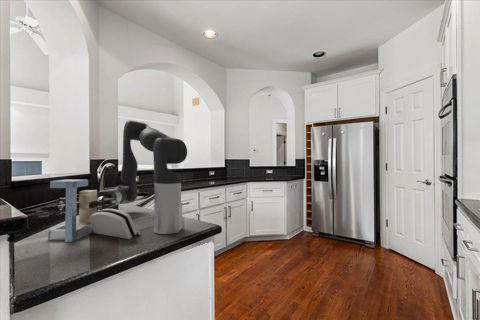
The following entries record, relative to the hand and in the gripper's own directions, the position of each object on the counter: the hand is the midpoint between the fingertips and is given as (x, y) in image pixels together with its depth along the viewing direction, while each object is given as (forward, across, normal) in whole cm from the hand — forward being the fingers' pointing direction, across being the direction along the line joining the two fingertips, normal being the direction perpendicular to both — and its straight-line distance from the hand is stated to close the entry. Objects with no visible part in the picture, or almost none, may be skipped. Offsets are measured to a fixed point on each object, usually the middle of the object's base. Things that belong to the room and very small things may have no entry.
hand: (83, 205), depth 86 cm
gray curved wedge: (+5, +13, +9) cm, 17 cm away
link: (-3, 0, +7) cm, 8 cm away
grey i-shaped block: (+7, 0, +9) cm, 11 cm away
